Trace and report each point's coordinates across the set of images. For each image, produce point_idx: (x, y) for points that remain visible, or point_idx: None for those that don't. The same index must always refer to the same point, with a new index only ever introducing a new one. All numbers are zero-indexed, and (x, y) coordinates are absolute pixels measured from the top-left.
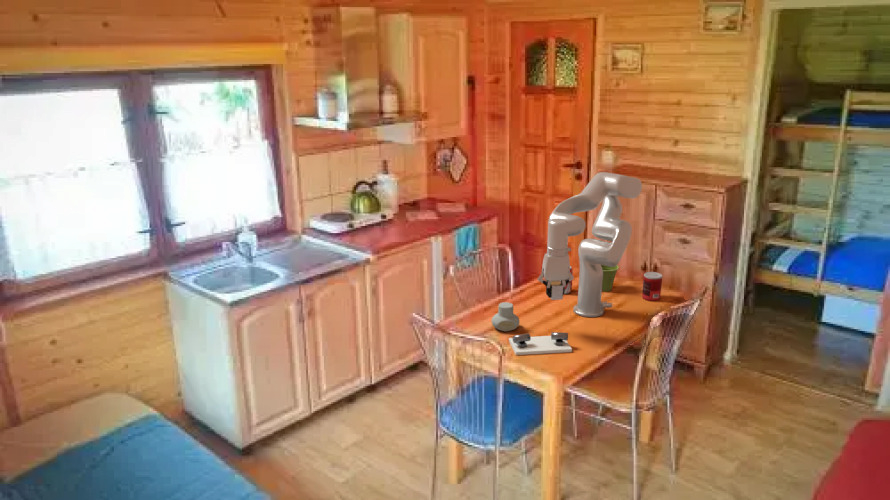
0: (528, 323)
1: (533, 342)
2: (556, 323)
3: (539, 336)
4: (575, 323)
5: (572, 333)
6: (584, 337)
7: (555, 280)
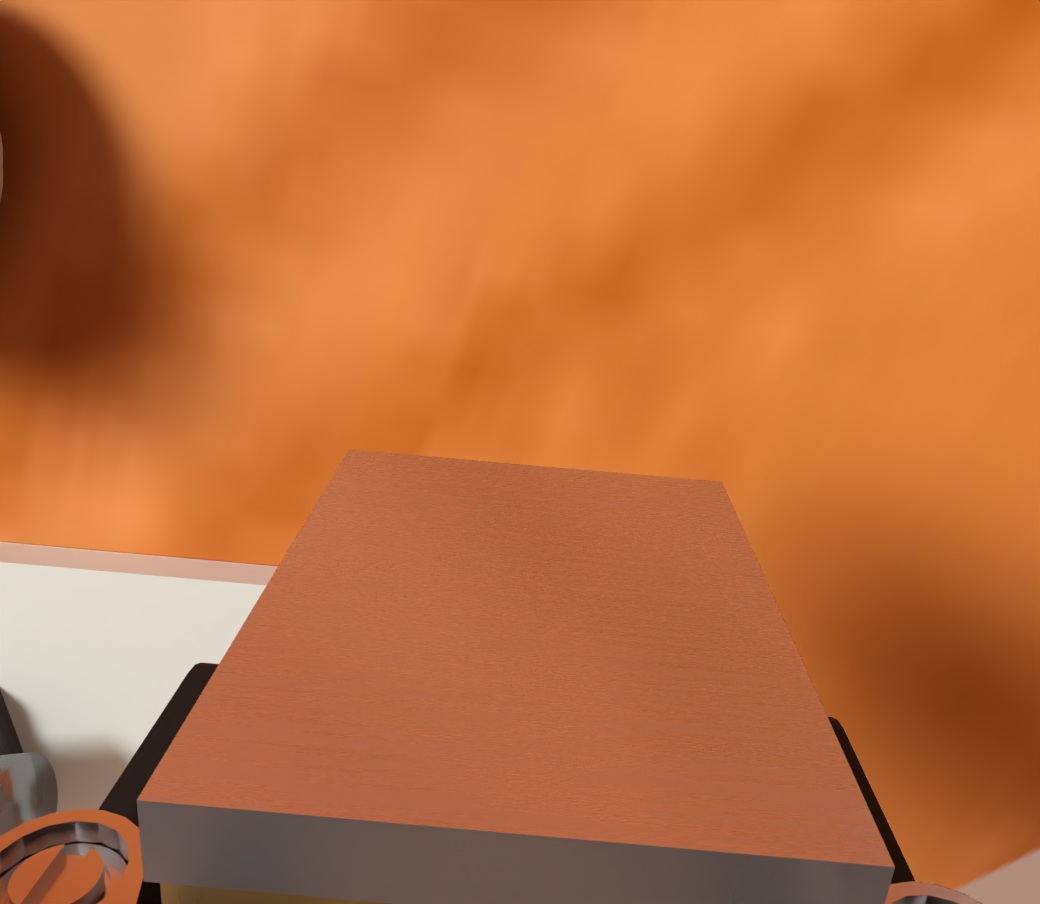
0: (236, 19)
1: (143, 717)
2: (686, 120)
3: (257, 588)
4: (980, 186)
5: (761, 499)
6: (853, 632)
7: (636, 857)
